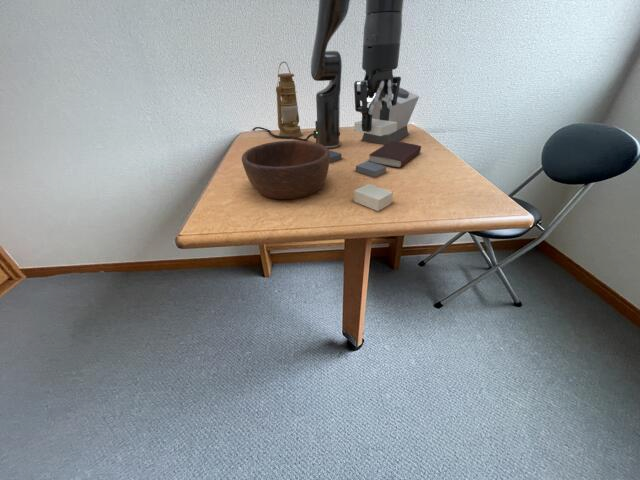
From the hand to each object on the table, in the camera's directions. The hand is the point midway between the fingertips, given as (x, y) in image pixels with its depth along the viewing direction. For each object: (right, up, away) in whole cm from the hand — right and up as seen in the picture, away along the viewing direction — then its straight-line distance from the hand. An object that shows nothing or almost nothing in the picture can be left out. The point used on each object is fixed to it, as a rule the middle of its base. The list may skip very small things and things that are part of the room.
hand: (375, 128), depth 66 cm
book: (+15, +4, +36) cm, 39 cm away
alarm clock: (+18, +19, +59) cm, 64 cm away
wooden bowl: (-22, -10, +18) cm, 31 cm away
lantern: (-27, +24, +68) cm, 77 cm away
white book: (0, 0, 0) cm, 1 cm away
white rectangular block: (+1, -17, +8) cm, 18 cm away
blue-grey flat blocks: (-3, 0, +32) cm, 32 cm away
